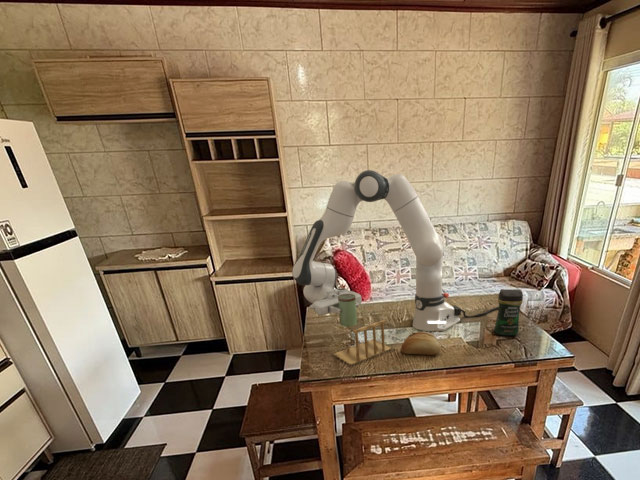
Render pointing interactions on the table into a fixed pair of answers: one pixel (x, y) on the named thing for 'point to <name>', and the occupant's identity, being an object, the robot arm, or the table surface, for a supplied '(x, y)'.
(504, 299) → the coffee jar
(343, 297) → the tumbler
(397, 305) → the table surface
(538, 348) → the table surface
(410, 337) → the bread roll
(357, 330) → the dish rack
